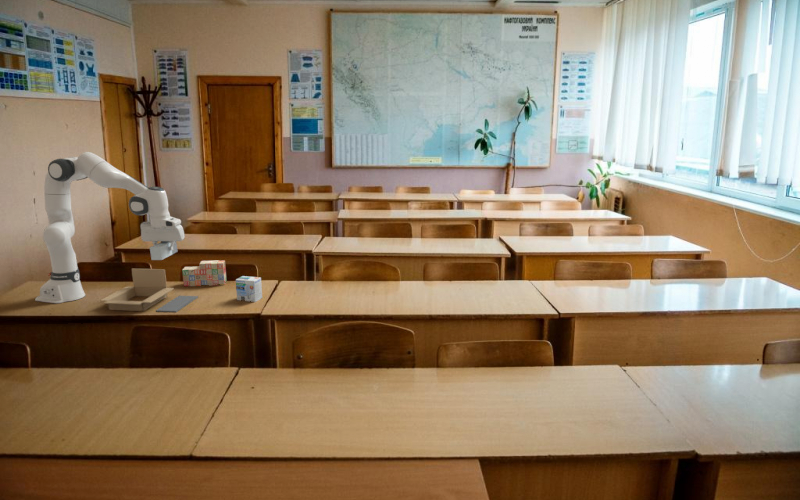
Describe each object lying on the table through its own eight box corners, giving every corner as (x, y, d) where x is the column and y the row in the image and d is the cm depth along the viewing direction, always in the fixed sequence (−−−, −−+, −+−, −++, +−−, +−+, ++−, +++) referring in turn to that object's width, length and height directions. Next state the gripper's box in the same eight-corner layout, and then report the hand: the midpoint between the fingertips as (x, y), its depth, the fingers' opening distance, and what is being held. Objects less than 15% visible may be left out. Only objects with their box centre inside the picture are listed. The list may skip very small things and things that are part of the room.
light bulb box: (236, 300, 291) (234, 279, 289) (244, 296, 297) (242, 275, 295) (255, 302, 288) (254, 281, 286) (262, 298, 294) (261, 277, 292)
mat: (155, 311, 277) (155, 310, 276) (179, 296, 298) (179, 295, 298) (176, 312, 275) (176, 311, 275) (198, 297, 296) (198, 296, 296)
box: (151, 260, 275) (149, 243, 273) (168, 251, 289) (165, 235, 287) (161, 260, 274) (159, 243, 272) (177, 251, 288) (175, 235, 286)
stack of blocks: (183, 286, 314) (181, 264, 311) (186, 283, 320) (184, 261, 318) (224, 285, 316) (222, 262, 313) (227, 281, 322) (225, 259, 319)
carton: (97, 311, 278) (93, 282, 274) (128, 294, 302) (124, 268, 298) (148, 313, 274) (144, 284, 271) (175, 296, 298) (172, 269, 295)
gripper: (136, 223, 276) (140, 252, 280) (177, 222, 273) (181, 251, 277) (143, 220, 282) (147, 248, 286) (184, 219, 279) (187, 248, 283)
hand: (164, 250), depth 281 cm, fingers closed on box, 5 cm apart
